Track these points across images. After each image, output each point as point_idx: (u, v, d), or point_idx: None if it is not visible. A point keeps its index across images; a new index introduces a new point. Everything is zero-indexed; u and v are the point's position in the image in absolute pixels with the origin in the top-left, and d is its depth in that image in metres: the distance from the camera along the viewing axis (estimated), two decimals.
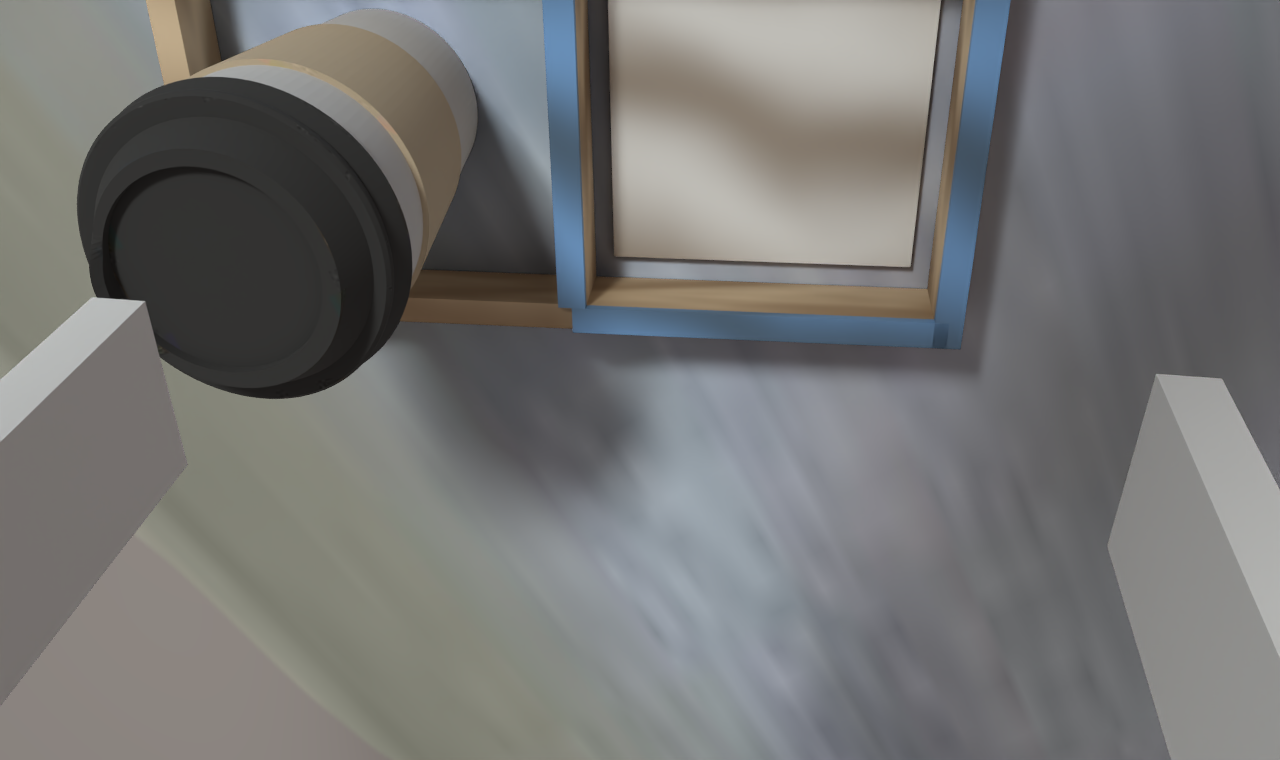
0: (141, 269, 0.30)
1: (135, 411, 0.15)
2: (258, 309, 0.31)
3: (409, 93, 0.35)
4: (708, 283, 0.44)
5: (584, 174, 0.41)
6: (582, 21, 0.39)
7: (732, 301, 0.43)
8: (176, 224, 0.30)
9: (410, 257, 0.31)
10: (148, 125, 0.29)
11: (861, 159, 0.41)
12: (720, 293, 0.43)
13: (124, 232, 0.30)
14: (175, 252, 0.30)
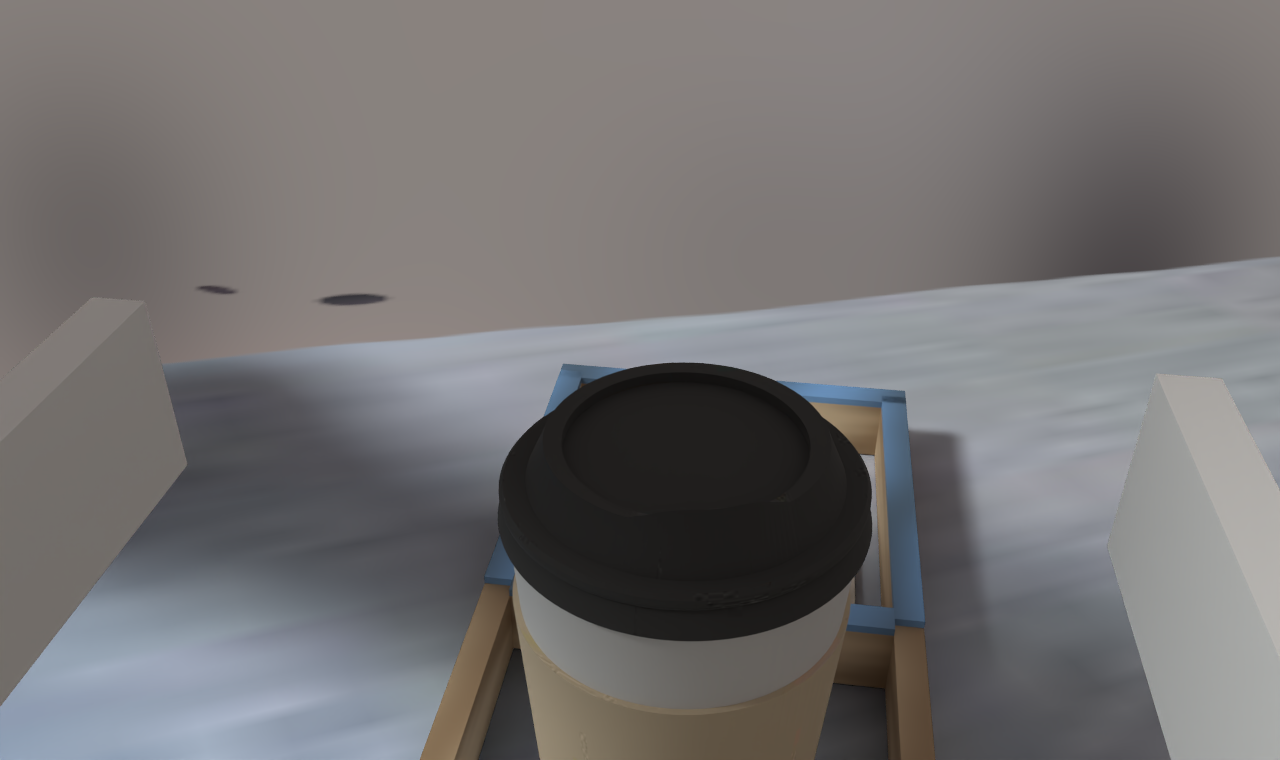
0: (678, 505, 0.26)
1: (135, 411, 0.15)
2: (735, 431, 0.28)
3: None
4: (881, 576, 0.44)
5: None
6: None
7: (884, 530, 0.44)
8: (628, 466, 0.27)
9: None
10: (525, 495, 0.27)
11: None
12: (883, 552, 0.44)
13: (631, 507, 0.26)
14: (661, 474, 0.27)
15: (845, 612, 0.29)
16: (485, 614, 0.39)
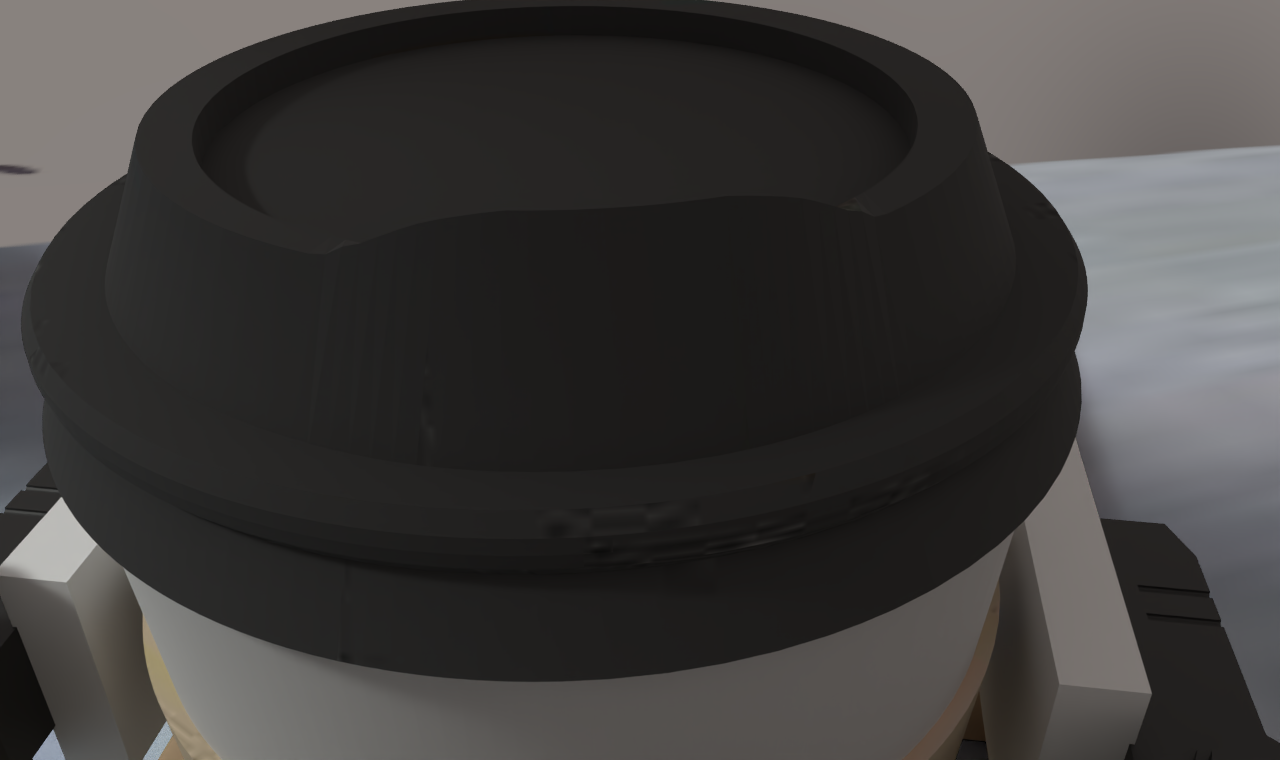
0: None
1: None
2: (703, 105, 0.10)
3: None
4: None
5: None
6: None
7: None
8: (389, 166, 0.09)
9: None
10: (97, 258, 0.09)
11: None
12: None
13: None
14: (479, 181, 0.09)
15: None
16: None
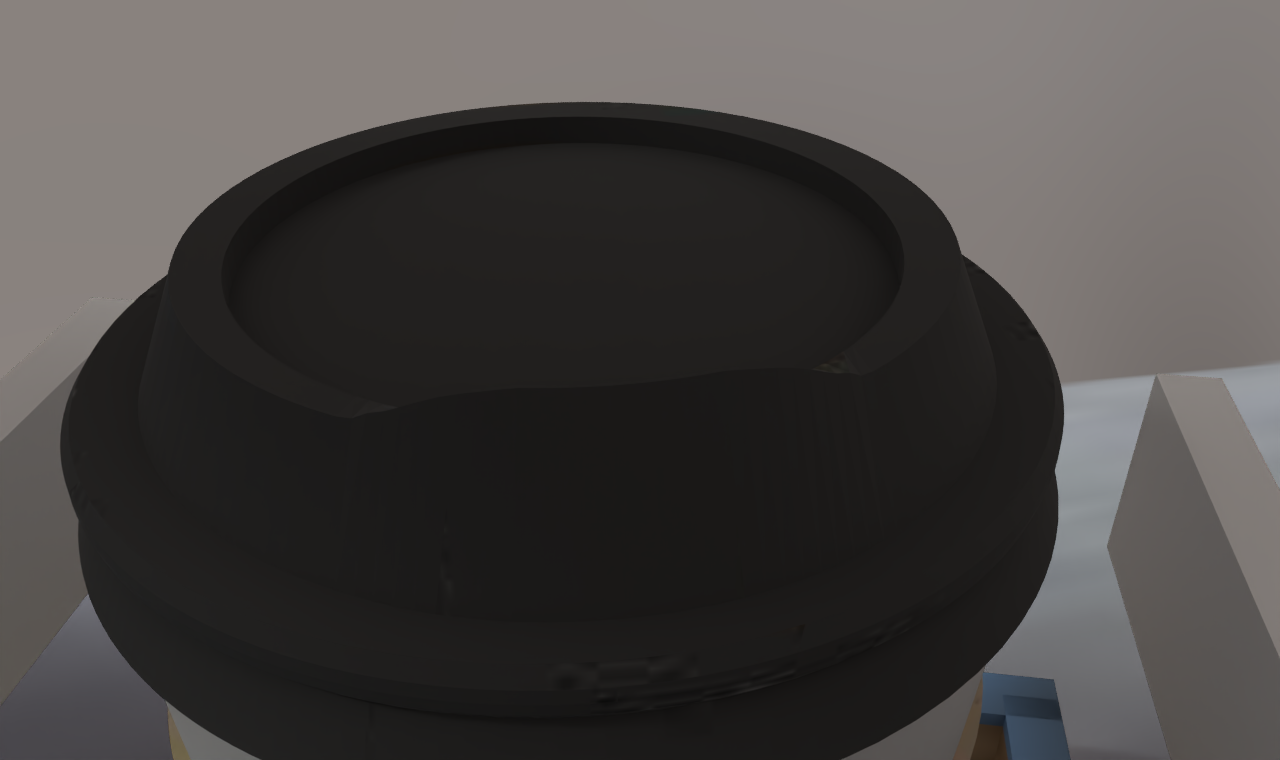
0: None
1: None
2: (703, 228, 0.11)
3: None
4: None
5: None
6: None
7: None
8: (406, 300, 0.10)
9: None
10: (130, 383, 0.10)
11: None
12: None
13: (381, 398, 0.09)
14: (491, 318, 0.10)
15: None
16: None
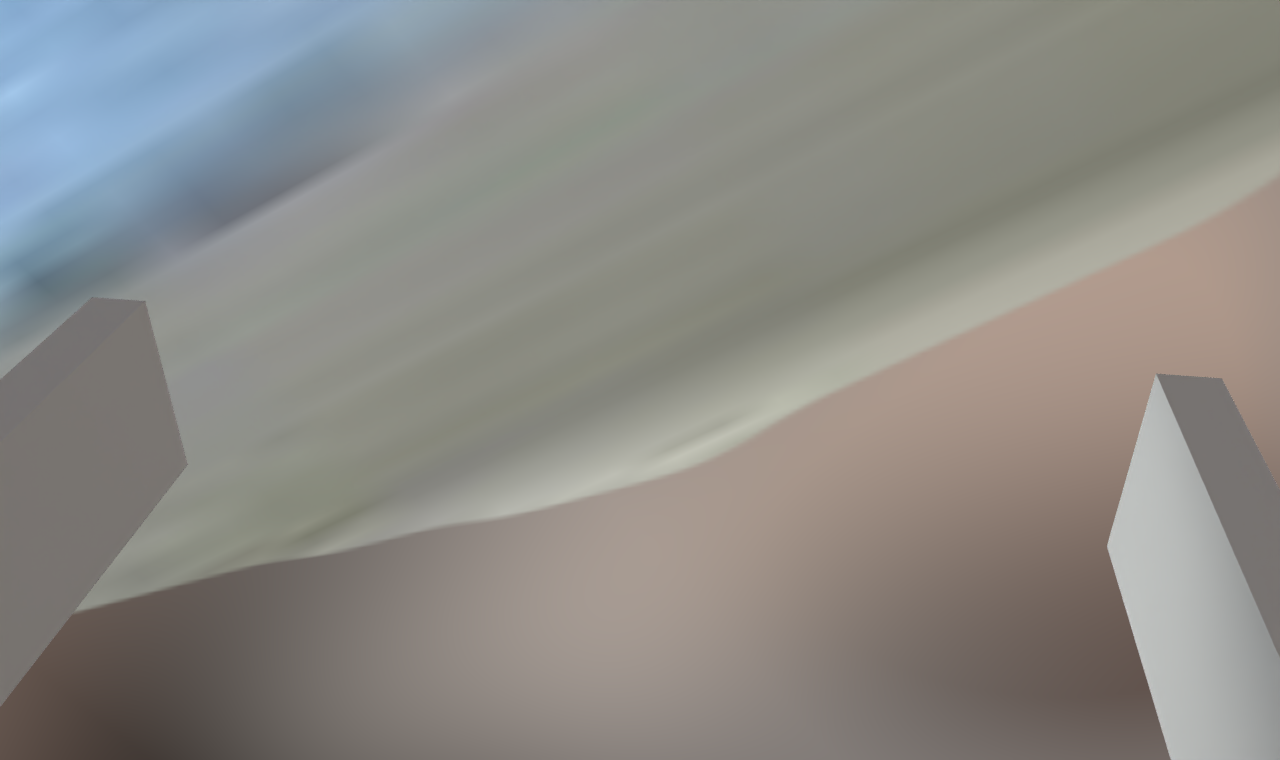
0: None
1: (135, 411, 0.15)
2: None
3: None
4: None
5: None
6: None
7: None
8: None
9: None
10: None
11: None
12: None
13: None
14: None
15: None
16: None
